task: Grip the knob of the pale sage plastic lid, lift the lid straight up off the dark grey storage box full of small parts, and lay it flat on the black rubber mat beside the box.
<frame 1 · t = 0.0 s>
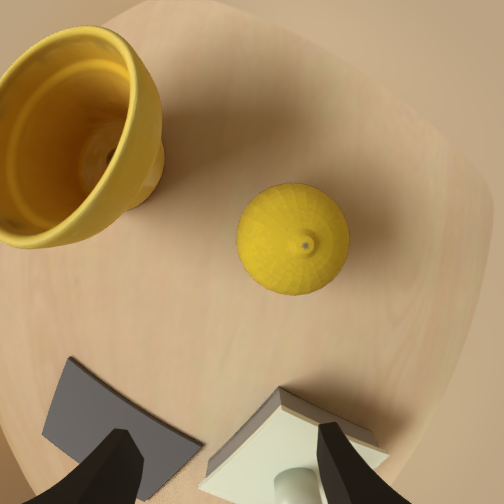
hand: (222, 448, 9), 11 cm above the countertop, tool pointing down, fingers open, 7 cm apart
lemon: (283, 234, 19), on the countertop
lid: (293, 468, 19), point 2 cm above the countertop, touching storage box
mat: (109, 442, 21), on the countertop
storage box: (290, 451, 21), on the countertop
plant pot: (121, 162, 19), on the countertop
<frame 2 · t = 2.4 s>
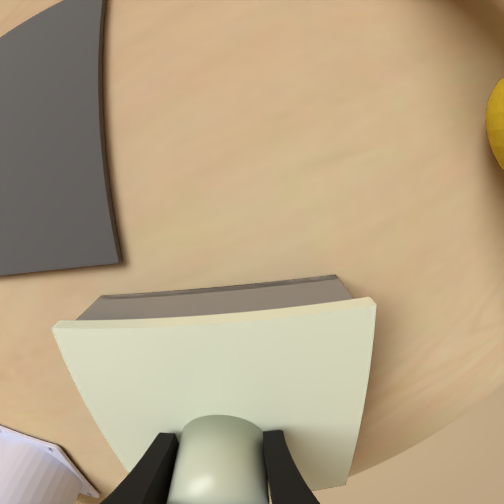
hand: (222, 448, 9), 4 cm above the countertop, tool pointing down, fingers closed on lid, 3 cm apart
lemon: (489, 133, 10), on the countertop
lid: (225, 416, 11), point 2 cm above the countertop, touching gripper, storage box
storage box: (227, 384, 13), on the countertop
when the fingers open (4 cm above the countertop, at t = 6.1 s): lid drops 1 cm, resting on mat.
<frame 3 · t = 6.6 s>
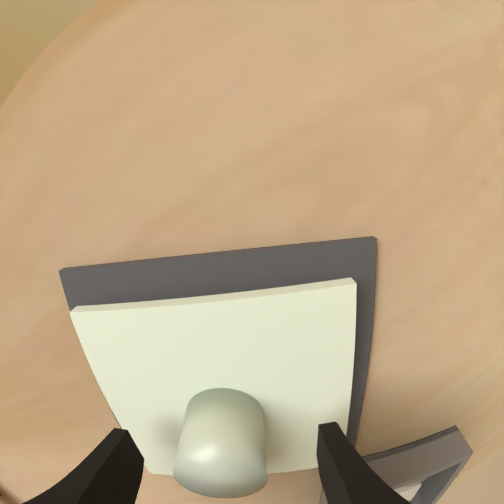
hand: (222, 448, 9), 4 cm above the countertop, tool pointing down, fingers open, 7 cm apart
lid: (226, 393, 12), resting on mat
mat: (227, 388, 13), on the countertop
storage box: (382, 481, 16), on the countertop
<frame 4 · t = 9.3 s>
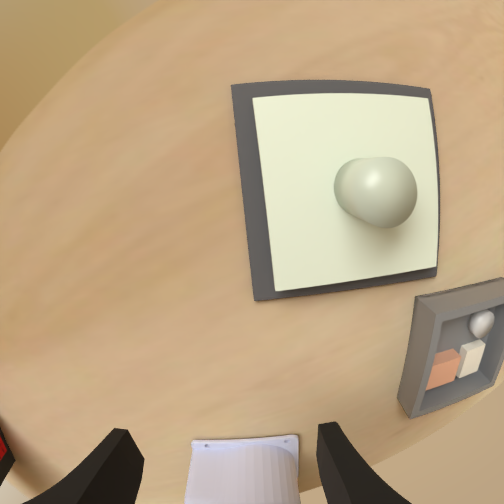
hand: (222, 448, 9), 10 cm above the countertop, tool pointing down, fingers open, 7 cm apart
lid: (352, 185, 17), resting on mat
mat: (351, 185, 17), on the countertop
storage box: (453, 339, 20), on the countertop
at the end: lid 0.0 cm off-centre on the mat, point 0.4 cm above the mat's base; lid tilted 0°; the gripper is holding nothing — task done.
